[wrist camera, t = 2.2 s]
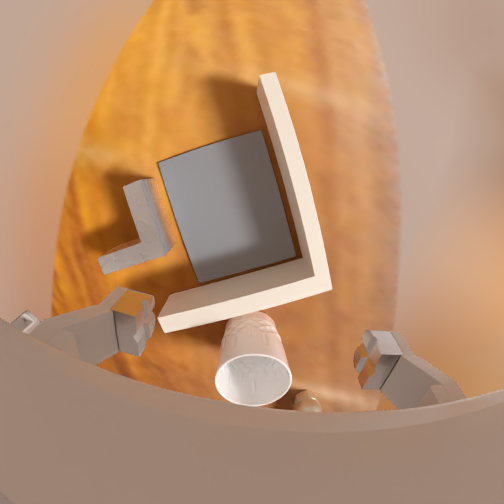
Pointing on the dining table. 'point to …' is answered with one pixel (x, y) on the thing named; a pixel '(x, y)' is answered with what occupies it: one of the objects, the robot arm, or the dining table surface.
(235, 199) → the mat
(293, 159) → the corner walls
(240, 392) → the white cup
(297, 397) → the valve
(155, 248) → the bracket
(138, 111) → the dining table surface
